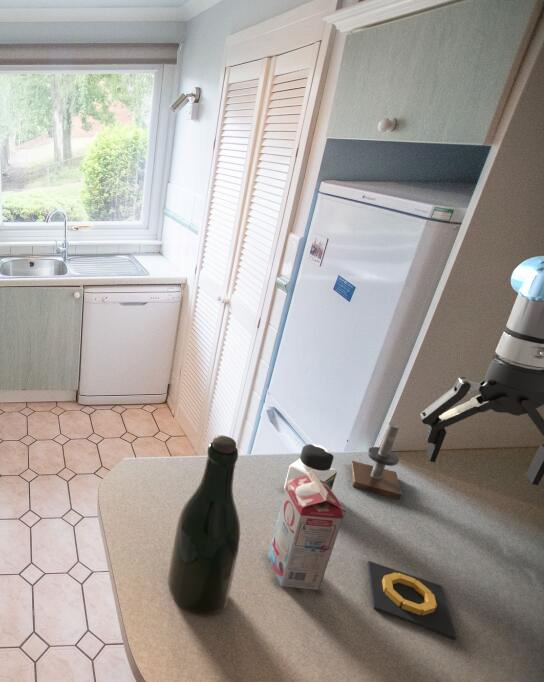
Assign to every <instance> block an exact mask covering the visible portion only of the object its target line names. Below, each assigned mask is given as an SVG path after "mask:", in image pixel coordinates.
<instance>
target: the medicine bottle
mask: <svg viewBox="0 0 544 682" xmlns="http://www.w3.org/2000/svg"><path fill="white" fill-rule="evenodd" d="M334 458H335V457H334V454H333V452H332V451H331V450H330V449H328V448H326V447H324V446H322V445H319V444H316V443H315V444H313V443H309V444H306V445H304V446H302V449H301V453H300V457H299V459H297V460H296V461H294V462H293V463H291V464H290V465H289V467H288V470H287V476H286V479H285V482H284V487H283V490H284V491H285V489H286V486H287V482H288V481H289V480H291V479H295V478H298V477H302V476H305V475H309V471H310V467H311V468H312V469H313V471H314V472H315V474H316V475H317V477H318V478H319V480H321V481H323V482H325V483H326V484H327V485H328V486H329V488H330V489H331V490H333V486H334V483H335V479H336V476H337V473H338V470H337V469H335V468H333V467H332V464H333V461H334Z"/></svg>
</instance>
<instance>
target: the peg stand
mask: <svg viewBox="0 0 544 682" xmlns="http://www.w3.org/2000/svg"><path fill="white" fill-rule="evenodd" d="M399 429H400V425H398V424H396V423H394V422H389V423H388V424H387V427H386V429H385V432H384V435H383V437H382V440H381V444H380V446H372V447H371V446H370V447H369V448H368V449H367V453H366V454H367V456H368V458H369V459H371V460H372V461H374V464H373V465H370V464H366V463H362V462H359V461H355V460H351V463H350V473H351V480H352V481H351V482H352V483H351V484H352V487H353V488H357V489H360V490H364V491H366V492H370V493H374V494H378V495H381V496H385V497H389V498H393V499H395V500H399V501H400V500H401V498H402V495H403V494H402V491H401V487H400V483H399V478H398V475H397V472H396V471H393V470H390V469H386V466H388V467H394V466H397V465H398V464H399V461H400V458H399V456H398V455H397V454H396V453H395V452H393V451H392V448H393V446H394V444H395V441H396V439H397V435H398V432H399Z"/></svg>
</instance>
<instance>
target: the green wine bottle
mask: <svg viewBox="0 0 544 682" xmlns="http://www.w3.org/2000/svg"><path fill="white" fill-rule="evenodd" d="M206 453H207V454H206V455H207V456H206V461H205V466H204V470H203V474H202V477H201V480H200V481H199V484H198V485H197V487H196V489H195V490H194V491H193V492H192V494H191V495H190V497H189V498H188V499H187V500H186V502H185V503H184V505H183V507H182V508H181V511H180V513H179V516H178V520H177V525H176V528H175V533H174V539H173V545H172V551H171V556H170V561H169V568H168V574H167V588H168V590H169V593H170V594H171V596H172V599H174V601H175V602H176V603H177V604H178V606H180V607H181V608H182V609H184V610H186V611H188V613H189V612H190V613H192V614H195V615H197V616H202V617H204V616H205V617H210V616H215V615H217V614H219V613H221V612H222V611H223V610H224V609H225V608H226V607H227V605H228V602H229V600H230V599H229V598H230V595H231V590H232V586H233V580H234V574H235V570H236V565H237V560H238V555H239V554H238V553H239V550H240V549H239V548H240V539H241V521H240V518H239V513H238V510H237V509H238V508H237V506H236V502H235V498H234V476H235V469H236V464H237V462H238V458H239V451H238V448H237V442H236V441H235V439H234V438H232V437H230V436H228V435H215V437H213V439H212V441H211V442H210V443H209V445H208V447H207V451H206Z"/></svg>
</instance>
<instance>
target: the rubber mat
mask: <svg viewBox="0 0 544 682" xmlns="http://www.w3.org/2000/svg"><path fill="white" fill-rule="evenodd" d="M367 569H368V576H369V584H370V585H369V586H370V592H371V601H372V609H373V610H374V611H378V612H379V613H383V614H386V615H388V616H391V617H393V618H396V619H399V620H401V621H404V622H407V623H409V624H412V625H415V626H418V627H420V628H422V629H425V630H428V631H431V632H434V633H436V634H439V635H441V636H444V637H447V638H450V639H451V640H456V639H457V635H456V632H455V628H454V625H453V621H452V618H451V614H450V611H449V608H448V604H447V600H446V597H445V594H444V590H443V587H442V584H438V583H436V582H433V581H429V580H426V579H424V578H421V577H418V576H414V575H411V574H409V573H406V572H403V571H400V570H398V569H394V568H392V567H388V566H386V565H382V564H379V563H376V562H373V561H370V560H367ZM395 572H396V573H400V574H403V575H406V576H409V577H412V578H415V580H416V581H417V580H418V581H419V582H421V583H422V584H423V585H424V586H425V587H427V588H428V589H429V590H430V591H431V592H432V594H434V596H435V600H436V604H437V607H436V609H435V611H434V612H432V613H429V614H426V615H423V616H422V615H421V614H420V615H418V614H415V613H413V612H410V611H407V610H405V609H402V608H401V606H398V605H396V604H395V603H394V602H393V601H392V600H391V599H390V598H389V597H388V596H387V595H386V594H385V592H384V591H383V584H382V580H383V577H384V576H385V575H388V574H392V573H395ZM393 589H394V590H395V591H396V592H397V593H398V594H399V595H400V596H402V597H403V598H404V599H405V600H408V601H411V602H414V603H416V604H422V603H425V601H424V597H423V596H422V595H421V594H420V593H418V592H417V591H416V590H415V589H414V588H413V587H410V586H407V585H404V584H401V583H395V584H393Z"/></svg>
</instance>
